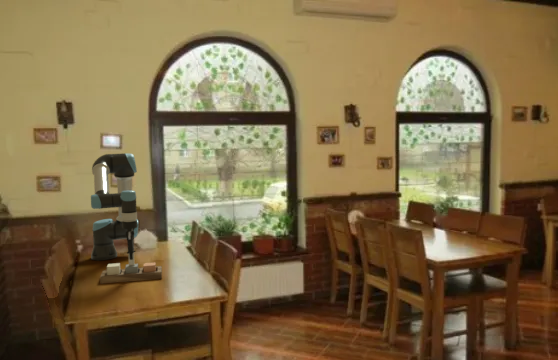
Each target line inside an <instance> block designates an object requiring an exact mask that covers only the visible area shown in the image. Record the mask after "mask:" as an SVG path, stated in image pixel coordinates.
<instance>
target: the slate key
mask: <svg viewBox="0 0 558 360" xmlns="http://www.w3.org/2000/svg"><path fill="white" fill-rule="evenodd" d="M134 264H135V265H132V266H129V263H128V264H125V268H124V269H125V272H126V274H129V273H138V268H139V263H134Z"/></svg>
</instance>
